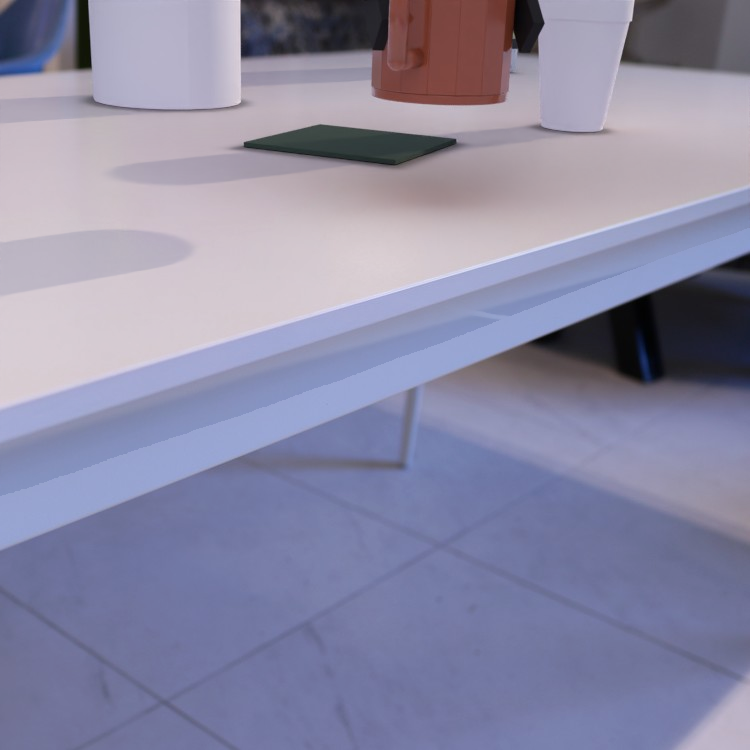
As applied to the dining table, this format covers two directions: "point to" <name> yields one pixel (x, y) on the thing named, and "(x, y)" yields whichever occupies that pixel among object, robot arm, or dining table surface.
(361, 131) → the mat
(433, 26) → the faceted clay mug
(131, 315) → the dining table surface
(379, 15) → the robot arm
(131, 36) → the canister
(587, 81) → the foam cup
